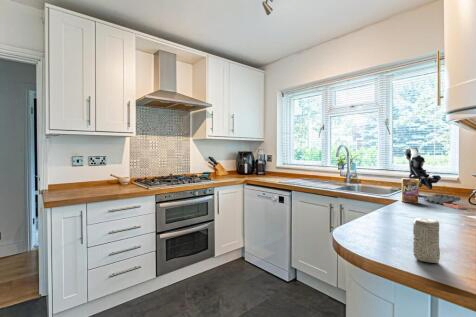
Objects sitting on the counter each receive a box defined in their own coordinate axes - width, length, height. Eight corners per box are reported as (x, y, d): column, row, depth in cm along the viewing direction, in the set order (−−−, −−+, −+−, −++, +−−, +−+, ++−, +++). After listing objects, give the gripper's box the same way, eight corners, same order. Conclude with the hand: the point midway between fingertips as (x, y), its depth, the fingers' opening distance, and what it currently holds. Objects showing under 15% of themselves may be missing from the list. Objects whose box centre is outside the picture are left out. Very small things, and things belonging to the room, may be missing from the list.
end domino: (443, 202, 152) (457, 206, 142) (451, 202, 152) (466, 206, 142) (443, 205, 152) (457, 208, 142) (451, 205, 152) (466, 208, 142)
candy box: (401, 201, 161) (402, 178, 161) (401, 200, 165) (401, 178, 165) (418, 203, 157) (418, 179, 157) (417, 202, 161) (417, 178, 160)
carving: (438, 258, 74) (439, 218, 73) (441, 268, 67) (442, 224, 67) (412, 254, 77) (413, 215, 77) (412, 262, 71) (413, 221, 71)
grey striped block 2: (428, 199, 163) (440, 195, 154) (436, 199, 163) (448, 195, 154) (429, 201, 162) (441, 197, 153) (437, 201, 162) (449, 197, 153)
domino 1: (424, 198, 167) (435, 194, 158) (431, 198, 167) (443, 194, 158) (425, 200, 166) (436, 196, 157) (432, 200, 166) (443, 196, 157)
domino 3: (433, 200, 159) (446, 196, 150) (441, 200, 159) (454, 196, 150) (434, 202, 158) (447, 198, 149) (442, 203, 158) (455, 198, 149)
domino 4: (438, 201, 155) (451, 197, 146) (446, 201, 155) (459, 197, 146) (439, 204, 154) (452, 199, 145) (447, 204, 155) (461, 200, 146)
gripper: (426, 178, 181) (438, 196, 170) (400, 178, 181) (411, 196, 170) (435, 168, 173) (448, 186, 162) (408, 168, 173) (419, 186, 162)
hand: (431, 189), depth 164 cm, fingers closed
